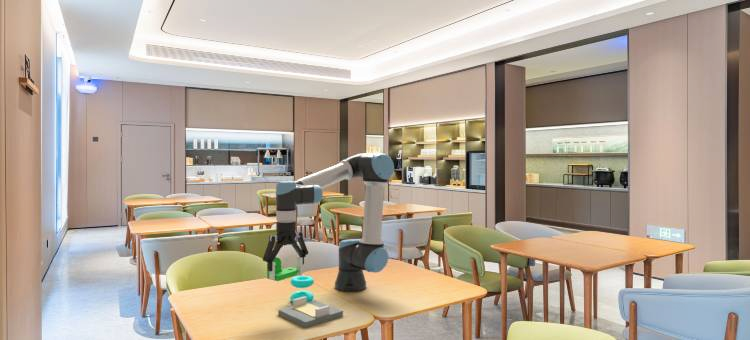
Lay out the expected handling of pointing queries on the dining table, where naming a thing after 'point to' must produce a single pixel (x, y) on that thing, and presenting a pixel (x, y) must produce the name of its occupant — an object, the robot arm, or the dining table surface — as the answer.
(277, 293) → the dining table surface
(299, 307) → the grey square plate
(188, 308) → the dining table surface
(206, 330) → the dining table surface
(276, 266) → the mechanical part
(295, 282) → the donuts
